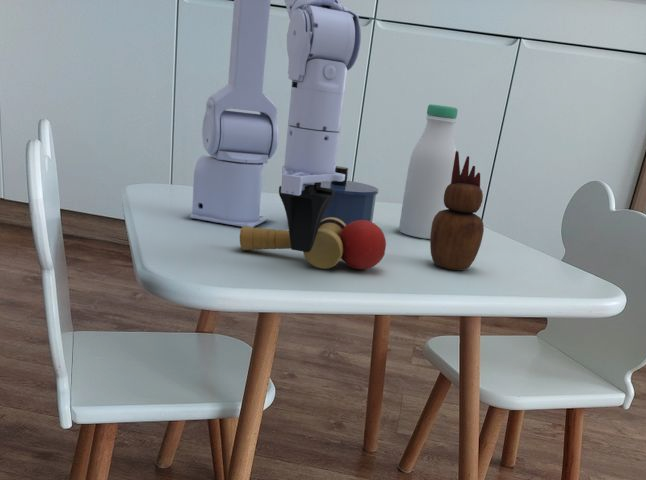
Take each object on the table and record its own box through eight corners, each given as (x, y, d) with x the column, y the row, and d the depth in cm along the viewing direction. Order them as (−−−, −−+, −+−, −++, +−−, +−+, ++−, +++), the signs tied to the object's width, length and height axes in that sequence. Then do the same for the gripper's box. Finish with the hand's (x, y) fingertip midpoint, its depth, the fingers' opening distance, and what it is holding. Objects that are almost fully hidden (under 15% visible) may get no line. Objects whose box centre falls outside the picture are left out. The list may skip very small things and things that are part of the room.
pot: (287, 230, 101) (291, 185, 99) (307, 218, 111) (311, 178, 109) (362, 243, 99) (368, 198, 97) (375, 230, 110) (381, 189, 108)
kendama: (233, 268, 82) (382, 271, 80) (232, 214, 81) (383, 216, 79) (251, 265, 90) (387, 268, 88) (250, 216, 89) (388, 218, 87)
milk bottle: (439, 242, 107) (463, 108, 100) (392, 233, 109) (412, 101, 102) (449, 235, 114) (472, 109, 107) (405, 227, 116) (424, 102, 109)
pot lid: (287, 189, 99) (290, 164, 97) (309, 181, 110) (311, 158, 109) (370, 203, 97) (373, 177, 96) (383, 193, 108) (386, 170, 107)
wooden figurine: (421, 266, 91) (440, 149, 85) (431, 258, 96) (450, 148, 90) (471, 276, 89) (494, 158, 83) (478, 268, 94) (501, 156, 89)
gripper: (334, 136, 68) (319, 269, 72) (361, 131, 81) (347, 244, 86) (266, 126, 69) (255, 258, 73) (304, 123, 82) (293, 234, 87)
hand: (301, 250), depth 80 cm, fingers closed
